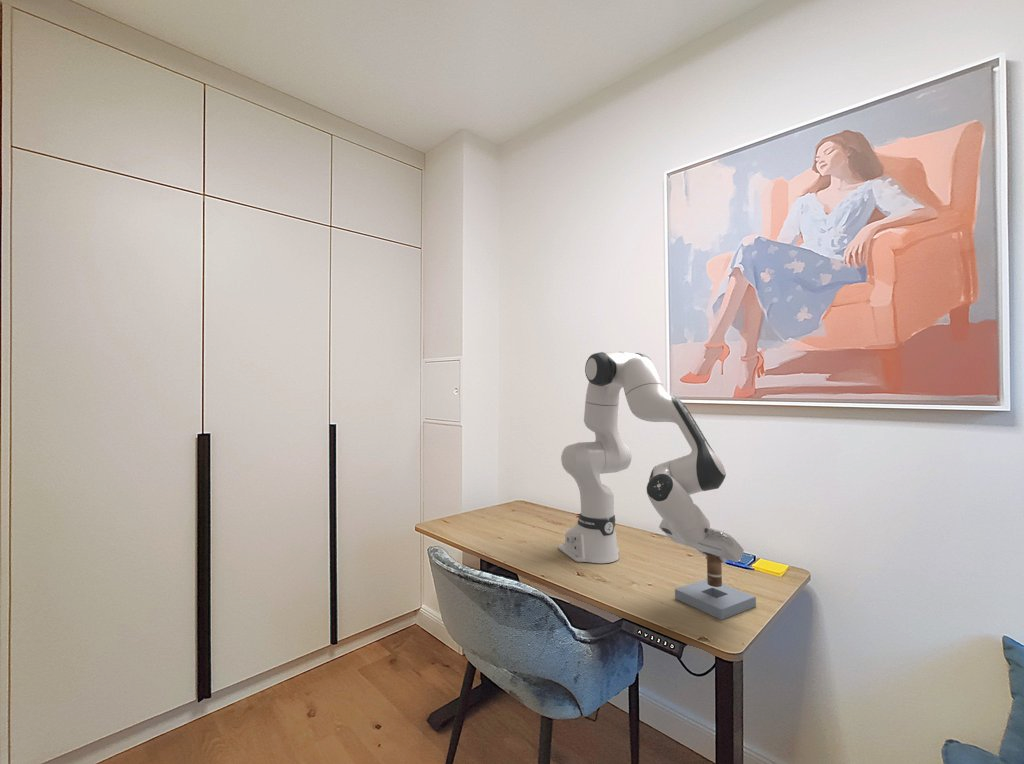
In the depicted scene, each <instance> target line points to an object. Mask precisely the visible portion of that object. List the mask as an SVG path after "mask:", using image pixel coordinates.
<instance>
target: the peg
mask: <svg viewBox="0 0 1024 764" xmlns="http://www.w3.org/2000/svg"><path fill="white" fill-rule="evenodd" d="M717 557H718V556H716V555H713V554H710V553H707V557H706V570H707V571H706V574H707V576H706V577H707V578H706V579H707V584H708V585H710V586H713V587H721V586H722V584H723V582H722V581H723V570H722V568H723V567H722V562H721V561H719V560H718V559H717Z"/></svg>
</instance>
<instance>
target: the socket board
mask: <svg viewBox="0 0 1024 764" xmlns="http://www.w3.org/2000/svg"><path fill="white" fill-rule="evenodd" d="M674 599H675V600H677V601H680V602H682V603H684V604H686V605H688V606H690V607H693V608H694V609H697V610H699V611H701V612H704V613H705V614H707V615H710V616H712V617H714V618H717V620H718V619H719V620H721V621H723V620H725V619H728V618H730V617H733V616H736V615H737V614H740V613H743V612H746V611H749V610H751V609H753V608H755V607H757V597H756V596H754V595H752V594H749V593H747V592H745V591H742V590H740V589H737V588H735V587H732V586H730V585H727V584H724V583H722V586H721V587H713V586H710V585H708V584H707V578H705V579H702V580H699V581H696V582H693V583H689V584H687V585H683V586H679V587H677V588H674Z"/></svg>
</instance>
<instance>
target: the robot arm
mask: <svg viewBox="0 0 1024 764" xmlns="http://www.w3.org/2000/svg"><path fill="white" fill-rule="evenodd" d="M584 372H585V377H586V379H587V380H588V382H587V383H588V384H587V388H586V394H585V401H584V403H585V404H584V412H583V413H584V415H583V422H584V426H586V428H587V429H588V430H589V431H591V432H593V433H594V434H595V435H594V436H595V440H594V441H586V442H585V441H583V442H576V443H573V444H569V445H566V446H565V447H564V449H563V450H562V453H561V457H560V461H561V465H562V468H563V469H564V470H565V472H566V473H567V474H569V475H570V476H571V477H572V478H573V479H574V480H575V481H574V482H576V484H577V487H578V489H579V491H578V492H579V495H580V497H579V498H580V513H577V514H575V515H576V516H575V518H578V519H577V523H576V524H575V525H574V526H572V527H571V528H569V529H568V530H567V531H566V533H565V536H564V537H565V539H564V542H562V543H560V544H559V545H558V548H557V549H558V550H560V551H561V552H563V553H564V554H565V555H566V556H568V557H569V558H570V559H572V560H573V561H575V562H577V563H584V562H585V563H590V564H591V563H592V564H609V563H613V562H616V561H618V560H619V559H620V555H619V554H620V549H619V547H618V539H617V538H618V537H617V531H616V528H615V527H616V515H615V514H614V508H615V507H614V502H615V501H614V492H613V491H612V489H611V488H610V487H608V486H607V485H605V484H603V483H602V481H601V478H600V477H601V476H600V475H601V474H603V475H604V474H612V473H613V474H614V473H619V472H621V471H623V470H624V471H625V470H627V469H628V468H629V467H630V465H631V462H632V452H631V449H630V448H629V446H628V445H627V444H626V443H625V442H624V441H623V439H622V437H621V436H620V433H619V429H618V415H619V414H618V412H619V404H620V403H619V402H620V391H621V389H622V388H623V392H624V396H625V399H626V402H627V405H628V409H629V410H630V412H631V414H633V416H635V417H636V418H637V419H640V420H642V421H645V422H649V423H650V422H653V423H674V424H676V425H677V426H678V428H679V430H680V431H681V433H682V435H683V436H684V438H685V440H686V442H687V443H688V446H689V447H690V449H691V452H690V453H689V454H686V455H684V456H681V457H678V458H674V459H671V460H668V461H666V462H663V463H659V464H657V465H655V466H653V468H652V470H651V472H650V476H649V478H648V482H647V484H646V494H647V497H648V500H650V501H649V502H650V503H651V505H652V506H653V508H654V510H655V511H656V512H657V514H658V515H659V516H660V517H661V518H662V520H661V521H660V524H659V526H658V528H659V530H661V531H662V532H664V533H665V535H666V536H667V538H669V539H670V540H671V541H673V542H675V544H681V545H683V546H686V547H689V548H692V549H695V550H696V551H698V552H699V553H701V555H702V556H704V557H706V558H707V553H710V554H713V555H716V556H718V557H717V559H718V560H719V561H721V563H724V564H726V563H727V561H731V562H735V563H738V562H739V561H741V559H742V557H743V555H744V548H743V546H741V545H740V543H739V542H738V541H737V540H736V539H735V538H734V537H733V536H732V535H731V534H729V533H728V532H725V531H722V530H718V529H716V528H715V529H714V528H711V523H710V521H709V519H708V518H707V517H706V515H705V514H704V512H703V510H701V508H700V507H699V506H698V505H697V504H695V502H694V500H693V498H692V496H691V495H695V494H698V493H700V492H707V491H712V490H717V489H719V488H720V487H721V486H722V484H723V483H724V480H725V479H726V476H727V475H726V470H725V469H726V468H725V467H724V465H723V463H722V461H721V459H720V457H719V456H718V455H717V454H716V453H715V451H714V450H713V449H712V447H711V446H710V443H709V442H708V440H707V439H706V437H705V436H704V433H703V432H702V430H701V429H700V427H699V425H698V424H697V422H696V420H695V418H693V416H692V414H691V413H690V411H689V410H688V408H687V406H686V405H685V403H683V401H681V400H680V399H679V398H678V397H676V396H675V397H673V396H671V395H670V394H669V393H668V392H667V390H666V389H665V387H664V384H663V382H662V381H663V380H662V379H661V377H660V375H659V372H658V371H657V368H656V367H655V365H654V364H653V361H652V359H651V358H650V357H649V356H648V355H646V354H644V353H643V354H642V353H640V352H635V353H634V352H628V351H615V352H614V351H613V352H611V351H610V352H603V351H601V352H595V353H592V354H591V355H589V357H588V359H587V360H586V362H585V367H584Z"/></svg>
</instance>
